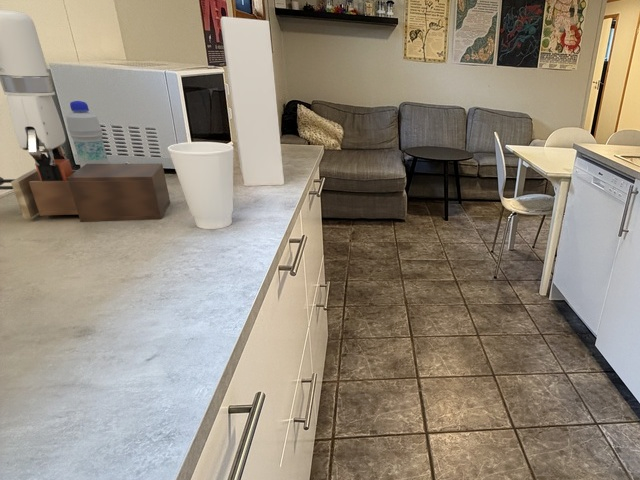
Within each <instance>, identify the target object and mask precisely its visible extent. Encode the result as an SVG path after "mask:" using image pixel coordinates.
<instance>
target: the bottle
mask: <svg viewBox="0 0 640 480" xmlns="http://www.w3.org/2000/svg"><path fill="white" fill-rule="evenodd" d="M69 106H70V109H71V112H70V113H68V114H67V115H66V116H65V118H66V124H67V131H68V133H69V136H70V137H71V139H72V141H73V145H74V149H75V152H76V155H77V158H78V163H79V167H80V168H81V167H83V166H84V165H86V164H110V161H109V160H108V155H107V151H106V148H105V143H104V140H103V137H104V134H103V128H102V126H101V124H100V122H99V119H98V116H97V115H95V114H93V113H92V112H90V109H89V106H88V104H87V102H85V101H82V100H74V101H71V102H70V103H69Z"/></svg>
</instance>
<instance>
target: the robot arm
mask: <svg viewBox="0 0 640 480" xmlns="http://www.w3.org/2000/svg"><path fill="white" fill-rule="evenodd" d="M0 85H1V88H2V91H3V94H4V95H6V98H7V106H8V111H9V115H10V119H11V122H12V125H13V129H14V132H15V136H16V139H17V143H18V145H19V147H20V149H21V150H23V151H28V154H29V155H30V156H31V157H32V159H34V162H35V164H36V165H37V167H38V169H39V172H40V175H41V178H42V181H63V180H62V177H61V174H60V171H59V167H58V165H55V161H54V159H67V155H66V152H65V150H64V143H65V142H66V134H65V131H64V126H63V124H62V121H61V117H60V115H59V112H58V110H57V109H58V108H57V106H56V104H55V101H54V98H53V97H52V96H55V95H56V93H55V89H54V86H53V82H52V78H51V75H50V72H49V68H48V65H47V62H46V58H45V55H44V52H43V48H42V46H41V42H40V37H39V35H38V31H37V28H36V26H35V22H34V20H33V19H32V17H31V16H30V15H29V14H27V13H24V12H22V11H16V10H7V9H0ZM40 147H43V148H40ZM36 165H35V166H36Z"/></svg>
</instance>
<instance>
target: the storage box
mask: <svg viewBox="0 0 640 480" xmlns="http://www.w3.org/2000/svg"><path fill="white" fill-rule="evenodd" d="M219 22H220V27H221V35H222V40H223V42H222V43H223V50H224V56H225V57H224V58H225V65H226V72H227V80H228V86H229V94H230V101H231V109H232V110H231V111H232V117H233V123H234V131H235V139H236V147H237V154H238V161H239V168H240V173H241V177H242V181H243V185H244V187H257V186H258V187H261V186H282V185H283V186H284V185H285V177H284V169H283V167H284V166H283V157H282V146H281V144H282V143H281V135H280V125H279V115H278V114H279V113H278V102H277V94H276V93H277V92H276V91H277V90H276V81H275V72H274V71H275V70H274V62H273V61H274V59H273V51H272V40H271V29H270V28H271V27H270V21H269V20H264V19H263V20H262V19H255V18H252V19H251V18H244V17H243V18H241V17H232V16H221V18H220V21H219Z"/></svg>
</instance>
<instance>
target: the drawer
mask: <svg viewBox="0 0 640 480" xmlns="http://www.w3.org/2000/svg"><path fill="white" fill-rule="evenodd" d="M77 170H78V169H72V171H73V173H74V172H76V171H77ZM6 183H7V184H10V185H4V184H6ZM0 190H1V191H4V190H7V191H8V190H13V192H14V195H15V199H16V200H17V203H18V206H19V209H20V211H21V214H22V217H23V219H32V218H33V217H35V216H36V215H38V214H39V216H65V215H66V216H68V215H69V216H70V215H78V212H77V209H76V205H75V202H74V199H73V195H72V192H71V189H70V186H69V182H68V181H41V180H40V177H39V174H38V171H37V168H33V169H31V170H30V171H28V172H26V173H24V174H23V175H20V176H19V177H16V178H3V177H1V176H0Z"/></svg>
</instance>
